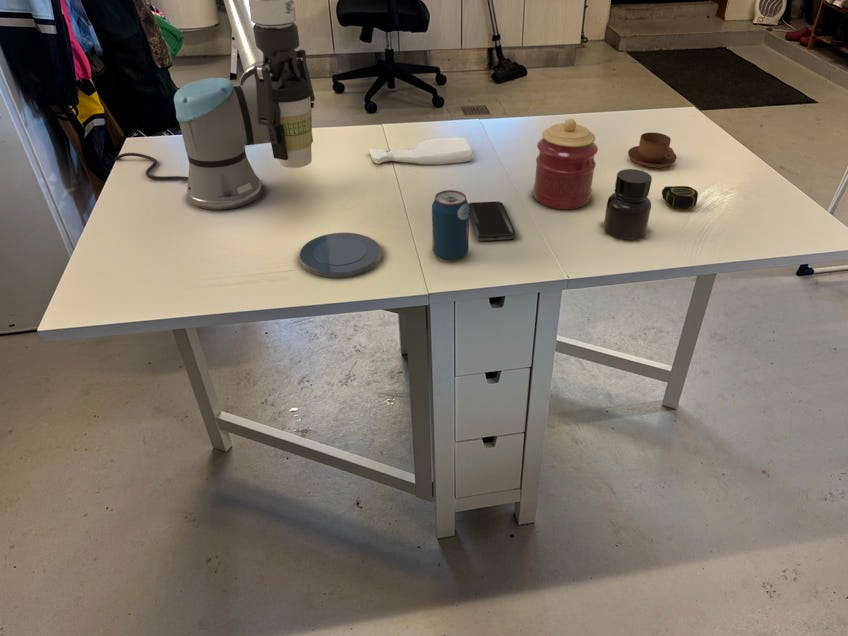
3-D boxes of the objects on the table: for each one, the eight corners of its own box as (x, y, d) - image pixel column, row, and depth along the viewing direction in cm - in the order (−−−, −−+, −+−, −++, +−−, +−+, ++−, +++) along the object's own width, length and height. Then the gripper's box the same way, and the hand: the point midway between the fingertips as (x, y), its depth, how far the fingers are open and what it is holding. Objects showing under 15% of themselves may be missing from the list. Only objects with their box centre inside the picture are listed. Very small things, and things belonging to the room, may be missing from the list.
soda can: (475, 256, 127) (476, 199, 120) (445, 267, 124) (445, 208, 117) (455, 241, 132) (455, 185, 124) (425, 251, 128) (424, 194, 121)
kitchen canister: (601, 198, 149) (614, 120, 138) (567, 216, 142) (577, 135, 131) (556, 180, 156) (564, 104, 145) (521, 197, 148) (527, 118, 137)
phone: (501, 201, 144) (516, 234, 132) (501, 205, 144) (515, 239, 133) (466, 202, 143) (477, 236, 131) (465, 207, 143) (477, 241, 132)
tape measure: (689, 198, 150) (692, 183, 148) (699, 212, 145) (703, 196, 143) (660, 199, 150) (663, 183, 147) (669, 212, 145) (672, 197, 142)
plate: (285, 268, 122) (284, 262, 121) (326, 232, 133) (325, 226, 132) (357, 284, 119) (356, 278, 118) (393, 246, 130) (393, 240, 129)
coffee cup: (309, 174, 126) (298, 93, 117) (261, 168, 127) (246, 88, 118) (328, 154, 134) (319, 77, 124) (282, 149, 135) (269, 72, 125)
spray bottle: (474, 163, 162) (374, 171, 158) (464, 146, 170) (369, 153, 166) (474, 151, 160) (373, 159, 156) (464, 135, 168) (368, 142, 164)
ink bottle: (648, 223, 140) (659, 169, 133) (647, 243, 134) (659, 188, 126) (602, 218, 142) (610, 164, 134) (599, 237, 135) (608, 182, 127)
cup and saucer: (681, 159, 168) (687, 136, 164) (665, 175, 160) (670, 151, 156) (637, 149, 173) (641, 125, 169) (619, 163, 165) (623, 139, 161)
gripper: (258, 40, 106) (281, 173, 120) (324, 13, 122) (337, 133, 136) (218, 35, 108) (245, 167, 122) (288, 8, 123) (304, 128, 138)
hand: (293, 149), depth 129 cm, fingers closed on coffee cup, 9 cm apart
